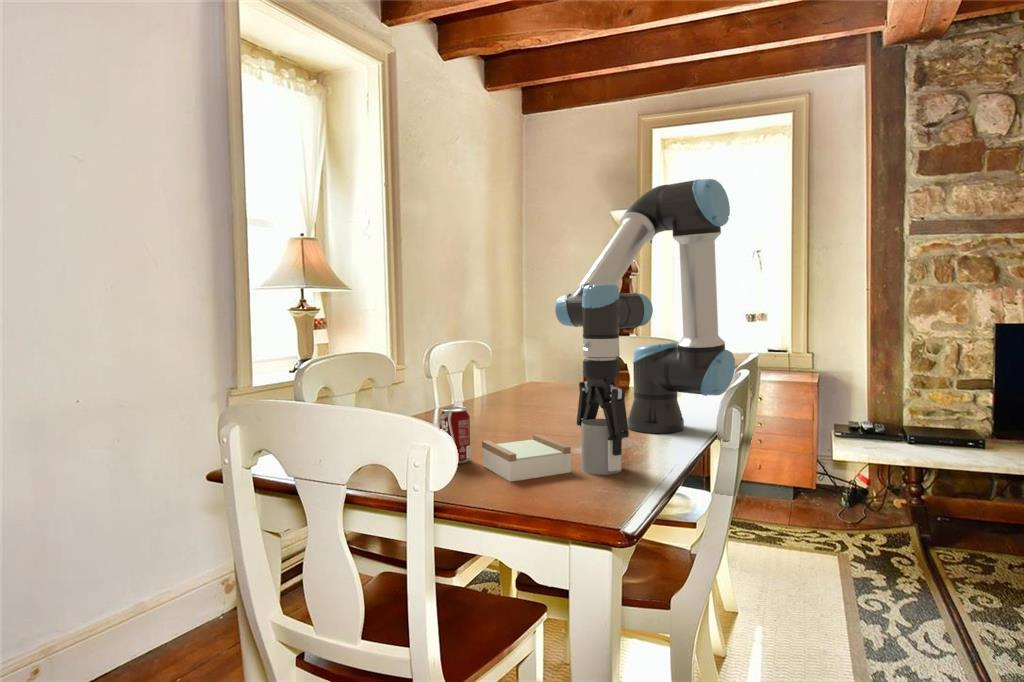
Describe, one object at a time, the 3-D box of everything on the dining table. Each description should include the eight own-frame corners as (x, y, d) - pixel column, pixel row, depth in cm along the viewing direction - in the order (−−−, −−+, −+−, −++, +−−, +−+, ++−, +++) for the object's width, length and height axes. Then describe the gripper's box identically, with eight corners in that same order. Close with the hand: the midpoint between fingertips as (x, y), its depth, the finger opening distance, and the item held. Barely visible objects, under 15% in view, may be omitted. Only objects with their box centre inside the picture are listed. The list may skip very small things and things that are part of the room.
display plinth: (539, 457, 146) (538, 434, 146) (570, 472, 134) (570, 446, 133) (482, 465, 140) (481, 441, 140) (509, 481, 128) (509, 454, 127)
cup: (620, 475, 131) (620, 427, 130) (580, 474, 132) (579, 426, 132) (622, 464, 139) (621, 419, 138) (584, 463, 141) (583, 418, 140)
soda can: (475, 459, 146) (474, 406, 145) (463, 466, 140) (462, 412, 139) (448, 457, 148) (446, 405, 147) (435, 464, 142) (433, 410, 141)
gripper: (559, 355, 142) (560, 456, 144) (615, 363, 123) (616, 480, 124) (588, 353, 145) (589, 452, 147) (647, 361, 126) (647, 474, 128)
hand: (601, 464), depth 136 cm, fingers open, 9 cm apart
